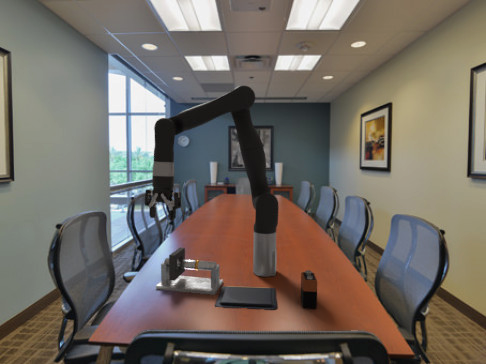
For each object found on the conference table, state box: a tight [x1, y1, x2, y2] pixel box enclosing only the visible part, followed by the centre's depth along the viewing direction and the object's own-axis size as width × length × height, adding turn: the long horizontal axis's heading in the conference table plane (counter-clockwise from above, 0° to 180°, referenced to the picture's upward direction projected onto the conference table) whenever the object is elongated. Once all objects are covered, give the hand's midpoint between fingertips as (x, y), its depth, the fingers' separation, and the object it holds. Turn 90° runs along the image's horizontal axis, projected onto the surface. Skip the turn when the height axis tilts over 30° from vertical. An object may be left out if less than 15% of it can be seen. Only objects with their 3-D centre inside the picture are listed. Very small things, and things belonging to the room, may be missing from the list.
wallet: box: [214, 285, 279, 311], centre depth 93 cm, size 20×2×15 cm
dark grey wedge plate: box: [168, 247, 186, 281], centre depth 102 cm, size 2×9×9 cm, turn 168°
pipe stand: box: [155, 257, 224, 296], centre depth 101 cm, size 22×10×10 cm, turn 78°
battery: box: [300, 269, 318, 310], centre depth 88 cm, size 4×7×10 cm, turn 174°
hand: (162, 218), depth 101 cm, fingers open, 8 cm apart
